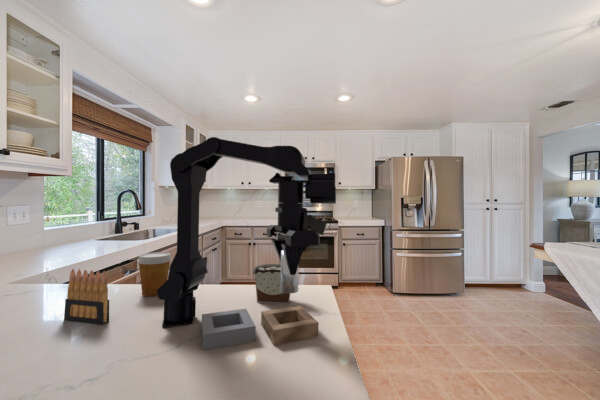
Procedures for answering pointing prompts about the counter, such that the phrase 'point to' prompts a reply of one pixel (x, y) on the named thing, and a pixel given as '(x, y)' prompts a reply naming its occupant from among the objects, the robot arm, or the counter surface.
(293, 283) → the pin
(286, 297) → the food container
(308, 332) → the block
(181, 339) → the counter surface
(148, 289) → the disposable coffee cup
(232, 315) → the socket block
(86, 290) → the ammunition clip
